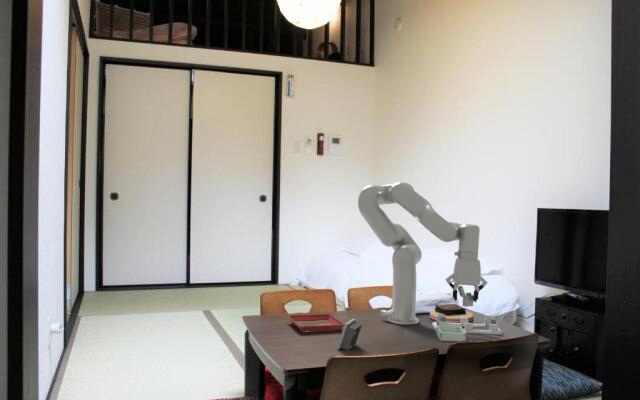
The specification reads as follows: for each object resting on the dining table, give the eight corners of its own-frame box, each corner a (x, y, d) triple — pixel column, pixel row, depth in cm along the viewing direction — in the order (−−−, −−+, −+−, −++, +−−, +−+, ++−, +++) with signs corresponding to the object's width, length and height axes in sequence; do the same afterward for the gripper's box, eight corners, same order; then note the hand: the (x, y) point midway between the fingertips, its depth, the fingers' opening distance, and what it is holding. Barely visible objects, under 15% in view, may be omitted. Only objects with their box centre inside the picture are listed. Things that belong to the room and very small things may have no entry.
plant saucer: (329, 321, 220) (329, 313, 220) (345, 332, 203) (345, 323, 203) (287, 323, 214) (287, 315, 214) (299, 335, 197) (299, 326, 197)
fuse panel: (435, 331, 207) (436, 321, 207) (432, 324, 218) (432, 315, 218) (502, 334, 204) (502, 325, 204) (495, 327, 216) (495, 318, 216)
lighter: (470, 305, 214) (471, 285, 213) (473, 306, 212) (474, 286, 212) (456, 305, 211) (457, 285, 211) (458, 306, 209) (460, 286, 209)
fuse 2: (490, 332, 207) (490, 319, 207) (486, 328, 214) (486, 315, 214) (495, 332, 207) (495, 319, 207) (491, 328, 214) (491, 316, 213)
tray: (440, 340, 194) (440, 332, 194) (436, 332, 205) (436, 324, 205) (466, 341, 193) (466, 333, 193) (460, 333, 204) (460, 326, 204)
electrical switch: (346, 342, 187) (349, 316, 187) (360, 346, 186) (363, 320, 185) (336, 350, 179) (339, 322, 178) (351, 353, 177) (354, 326, 176)
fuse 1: (440, 330, 209) (440, 317, 209) (438, 325, 215) (438, 313, 215) (445, 330, 209) (445, 317, 209) (443, 326, 215) (443, 313, 215)
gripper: (447, 255, 208) (444, 300, 208) (492, 258, 206) (489, 304, 207) (444, 253, 215) (441, 297, 216) (488, 256, 214) (485, 300, 214)
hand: (465, 300), depth 211 cm, fingers closed on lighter, 7 cm apart
